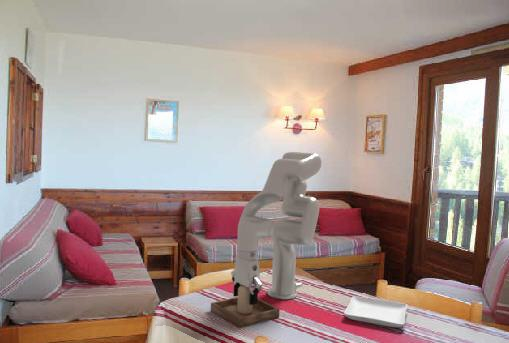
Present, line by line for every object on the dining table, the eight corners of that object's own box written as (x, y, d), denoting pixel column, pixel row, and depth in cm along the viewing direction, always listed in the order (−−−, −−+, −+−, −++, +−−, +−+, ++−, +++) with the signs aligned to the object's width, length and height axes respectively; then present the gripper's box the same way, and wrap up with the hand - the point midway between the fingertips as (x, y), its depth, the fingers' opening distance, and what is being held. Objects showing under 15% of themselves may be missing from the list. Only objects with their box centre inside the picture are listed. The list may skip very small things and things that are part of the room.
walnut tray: (248, 301, 179) (249, 294, 178) (279, 316, 165) (279, 308, 164) (210, 310, 167) (210, 303, 167) (239, 328, 153) (239, 319, 153)
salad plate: (342, 321, 164) (343, 312, 163) (352, 302, 183) (353, 294, 183) (403, 333, 156) (404, 324, 156) (407, 312, 176) (407, 303, 175)
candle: (250, 315, 163) (251, 288, 162) (235, 313, 164) (236, 286, 163) (253, 309, 168) (254, 283, 168) (238, 307, 169) (240, 281, 169)
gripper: (270, 258, 160) (268, 305, 161) (241, 247, 173) (239, 291, 175) (253, 261, 155) (251, 309, 156) (225, 250, 169) (223, 294, 170)
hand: (245, 299), depth 166 cm, fingers open, 9 cm apart
